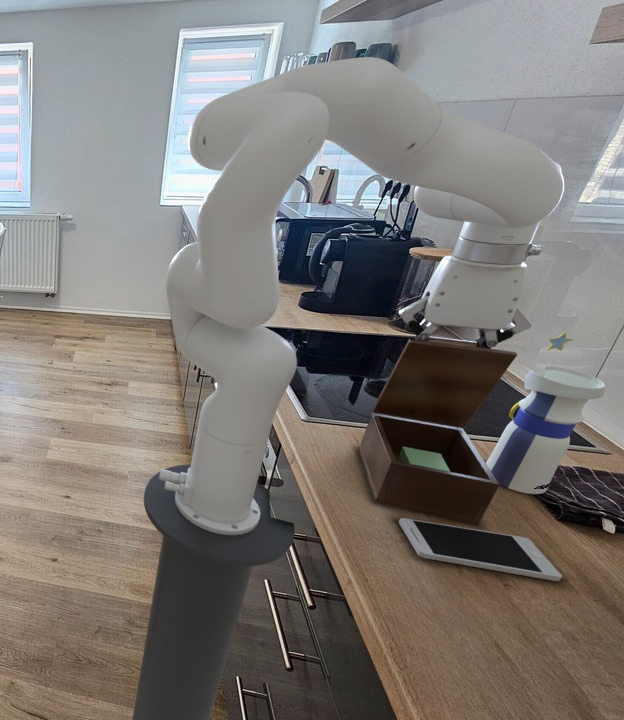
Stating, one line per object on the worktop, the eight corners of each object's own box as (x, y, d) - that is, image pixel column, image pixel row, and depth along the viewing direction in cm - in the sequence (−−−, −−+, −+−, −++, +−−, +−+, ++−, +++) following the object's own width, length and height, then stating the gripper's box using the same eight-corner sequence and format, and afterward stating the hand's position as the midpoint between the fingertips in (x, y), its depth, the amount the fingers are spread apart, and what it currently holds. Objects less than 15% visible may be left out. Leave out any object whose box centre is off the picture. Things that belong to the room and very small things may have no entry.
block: (438, 496, 79) (450, 471, 76) (399, 488, 81) (410, 463, 78) (429, 478, 83) (440, 453, 80) (392, 470, 85) (402, 446, 82)
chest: (478, 525, 74) (499, 484, 71) (375, 502, 79) (391, 462, 76) (445, 465, 86) (463, 428, 83) (358, 448, 92) (371, 412, 88)
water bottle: (465, 467, 86) (528, 335, 75) (502, 459, 87) (570, 328, 77) (521, 499, 79) (600, 357, 68) (561, 489, 80) (645, 349, 69)
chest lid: (517, 354, 72) (509, 335, 75) (409, 342, 77) (405, 324, 80) (464, 428, 83) (458, 408, 86) (372, 412, 88) (370, 394, 91)
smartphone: (560, 582, 65) (564, 577, 64) (419, 557, 69) (421, 552, 68) (525, 542, 71) (528, 537, 70) (397, 521, 75) (399, 516, 75)
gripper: (557, 249, 71) (505, 361, 79) (407, 242, 78) (373, 346, 86) (586, 262, 65) (526, 382, 73) (420, 253, 72) (382, 364, 80)
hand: (444, 362), depth 79 cm, fingers closed on chest lid, 6 cm apart
